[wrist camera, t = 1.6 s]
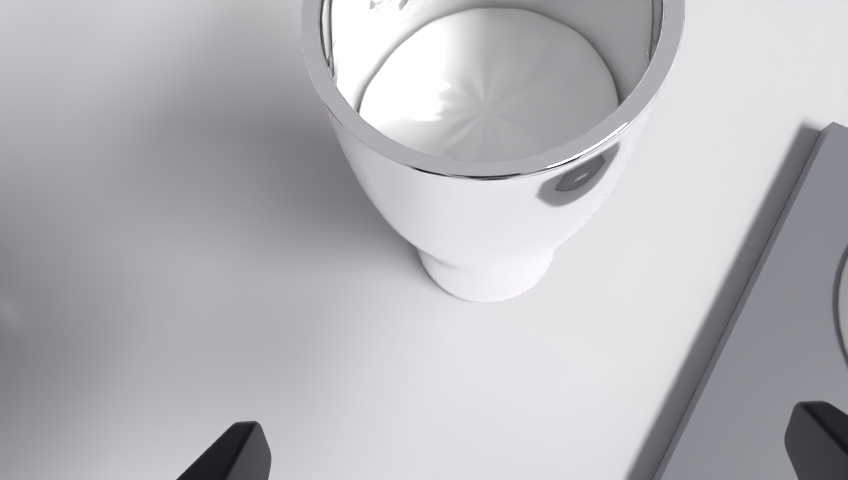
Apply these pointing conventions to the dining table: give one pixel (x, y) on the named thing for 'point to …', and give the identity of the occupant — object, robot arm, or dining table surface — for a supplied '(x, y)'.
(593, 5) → the beer glass
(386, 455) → the dining table surface
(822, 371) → the base plate
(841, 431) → the robot arm
